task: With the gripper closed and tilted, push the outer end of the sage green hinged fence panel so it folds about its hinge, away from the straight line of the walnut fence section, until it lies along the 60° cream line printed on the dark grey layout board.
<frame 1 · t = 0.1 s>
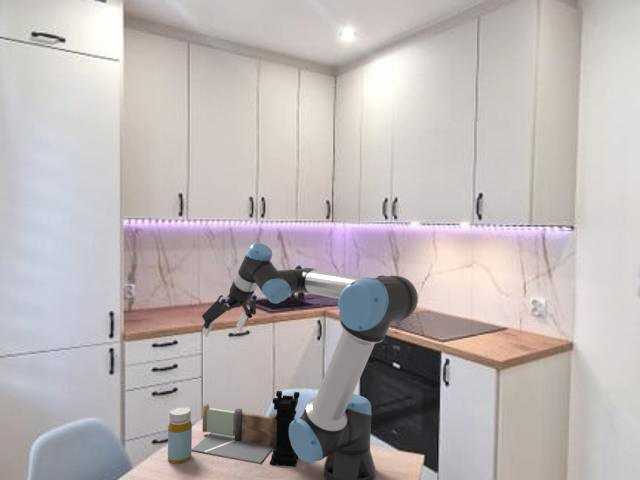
hand: (222, 330, 154), 36 cm above the table, tool tilted 35°, fingers open, 13 cm apart
chess piece: (284, 459, 139), on the table
layout board: (236, 445, 147), on the table
fence panel: (218, 419, 152), point 6 cm above the table, hinge at 0.0°
bottle: (179, 458, 138), on the table
walnut fence section: (238, 440, 150), resting on layout board
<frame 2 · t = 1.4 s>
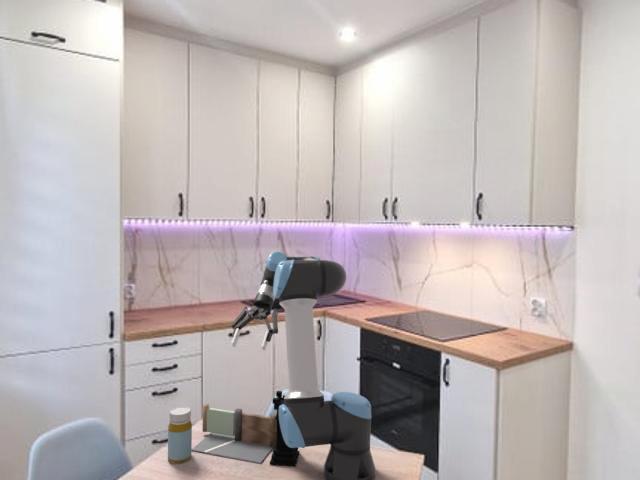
hand: (247, 346, 164), 27 cm above the table, tool tilted 45°, fingers open, 11 cm apart
nothing on the table moved.
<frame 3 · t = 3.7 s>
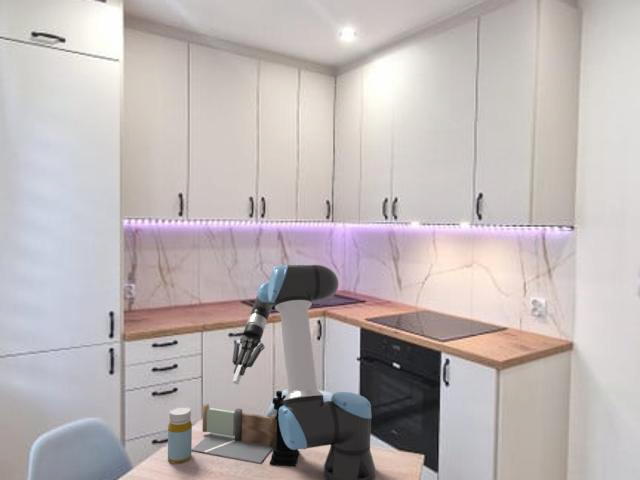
hand: (235, 382, 165), 14 cm above the table, tool tilted 45°, fingers closed
nothing on the table moved.
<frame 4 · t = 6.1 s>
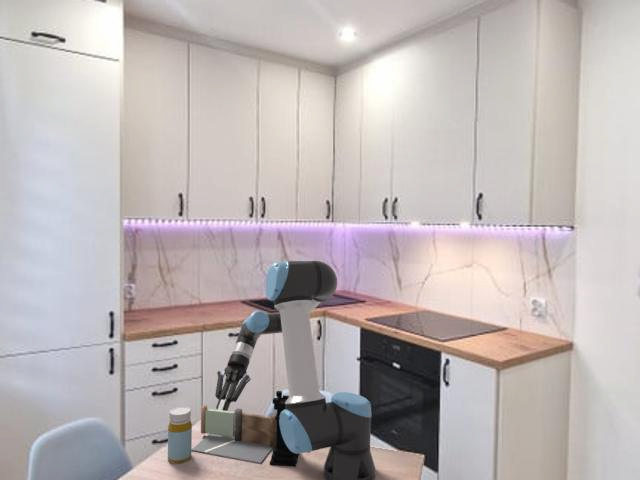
hand: (218, 419, 153), 5 cm above the table, tool tilted 45°, fingers closed
fence panel: (217, 420, 151), point 6 cm above the table, hinge at 5.4°, touching gripper
everything else where it was.
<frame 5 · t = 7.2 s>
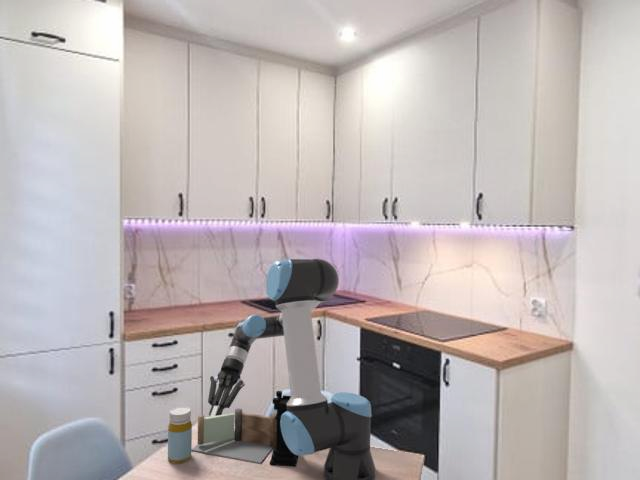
hand: (210, 426, 148), 5 cm above the table, tool tilted 45°, fingers closed
fence panel: (216, 427, 146), point 6 cm above the table, hinge at 40.8°, touching gripper
everything else where it was.
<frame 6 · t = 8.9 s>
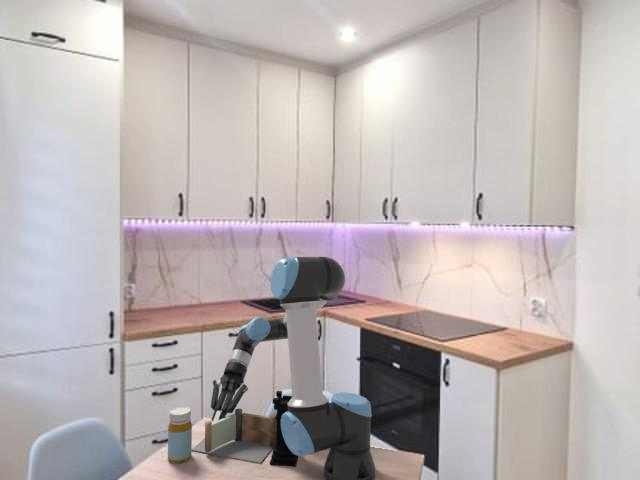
hand: (213, 432, 144), 6 cm above the table, tool tilted 45°, fingers closed
fence panel: (220, 430, 144), point 6 cm above the table, hinge at 67.1°, touching gripper
everything else where it was.
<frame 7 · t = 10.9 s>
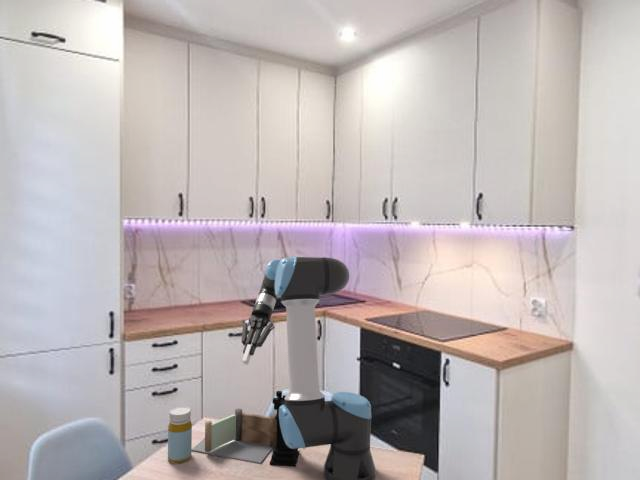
hand: (245, 362, 158), 24 cm above the table, tool tilted 45°, fingers closed
fence panel: (220, 431, 144), point 6 cm above the table, hinge at 67.2°
everything else where it was.
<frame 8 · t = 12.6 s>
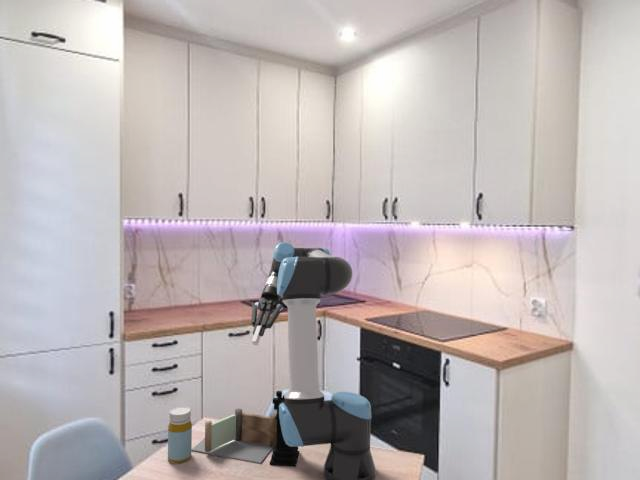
hand: (254, 343, 160), 30 cm above the table, tool tilted 45°, fingers closed
nothing on the table moved.
at the end: fence panel at +67° (first picture: +0°); bottle moved 0.2 cm from its start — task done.
